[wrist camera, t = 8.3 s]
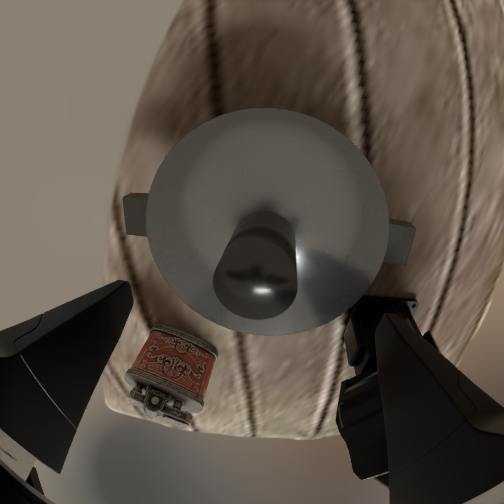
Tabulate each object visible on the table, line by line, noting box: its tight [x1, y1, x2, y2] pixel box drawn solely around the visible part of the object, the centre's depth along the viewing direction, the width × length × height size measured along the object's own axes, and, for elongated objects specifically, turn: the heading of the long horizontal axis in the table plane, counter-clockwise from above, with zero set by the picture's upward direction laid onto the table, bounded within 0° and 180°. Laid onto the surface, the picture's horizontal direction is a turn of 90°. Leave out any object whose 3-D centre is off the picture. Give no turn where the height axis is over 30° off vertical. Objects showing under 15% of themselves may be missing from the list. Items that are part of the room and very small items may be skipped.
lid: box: [146, 108, 389, 336], centre depth 12 cm, size 12×12×5 cm
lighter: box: [125, 324, 219, 428], centre depth 24 cm, size 8×3×10 cm, turn 68°
